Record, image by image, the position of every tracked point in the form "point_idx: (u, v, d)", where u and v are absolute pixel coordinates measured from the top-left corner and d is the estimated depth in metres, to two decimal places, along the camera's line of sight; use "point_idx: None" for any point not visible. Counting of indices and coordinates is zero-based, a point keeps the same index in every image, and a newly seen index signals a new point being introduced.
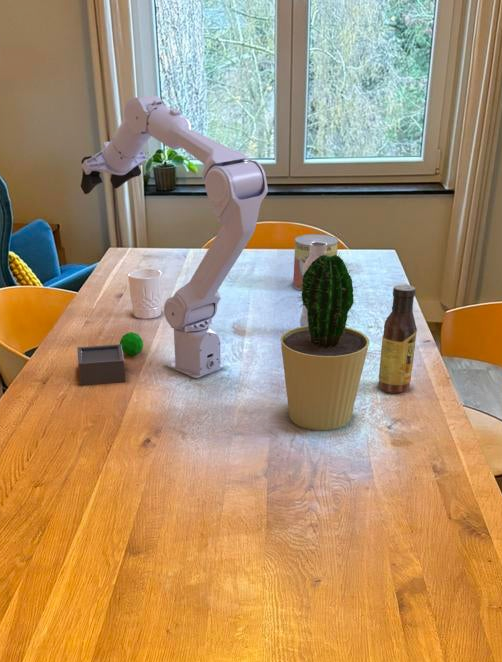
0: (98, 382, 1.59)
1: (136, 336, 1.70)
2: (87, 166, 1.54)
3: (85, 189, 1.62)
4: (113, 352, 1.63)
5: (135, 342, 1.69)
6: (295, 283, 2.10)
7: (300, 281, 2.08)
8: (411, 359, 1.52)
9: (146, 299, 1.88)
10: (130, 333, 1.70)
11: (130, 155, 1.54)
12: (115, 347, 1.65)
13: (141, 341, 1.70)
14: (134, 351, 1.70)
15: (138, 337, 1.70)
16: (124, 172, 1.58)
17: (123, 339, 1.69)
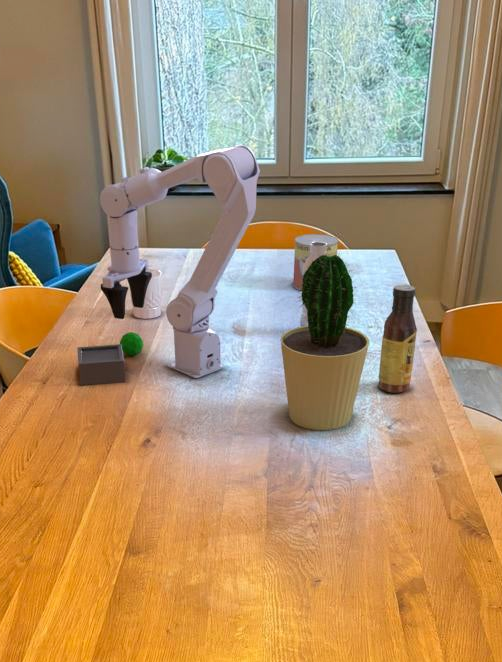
0: (98, 382, 1.59)
1: (136, 336, 1.70)
2: (107, 279, 1.57)
3: (120, 313, 1.63)
4: (113, 352, 1.63)
5: (135, 342, 1.69)
6: (295, 283, 2.10)
7: (300, 281, 2.08)
8: (411, 359, 1.52)
9: (146, 299, 1.88)
10: (130, 333, 1.70)
11: (132, 245, 1.58)
12: (115, 347, 1.65)
13: (141, 341, 1.70)
14: (134, 351, 1.70)
15: (138, 337, 1.70)
16: (138, 270, 1.61)
17: (123, 339, 1.69)
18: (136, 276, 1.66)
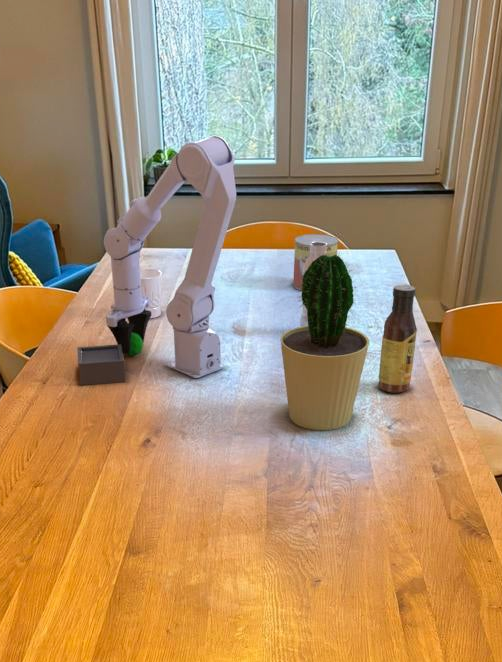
0: (98, 382, 1.59)
1: (136, 336, 1.69)
2: (111, 319, 1.61)
3: (125, 349, 1.68)
4: (113, 352, 1.63)
5: (135, 342, 1.69)
6: (295, 283, 2.10)
7: (300, 281, 2.08)
8: (411, 359, 1.52)
9: None
10: None
11: (135, 285, 1.62)
12: (115, 347, 1.65)
13: (141, 341, 1.70)
14: (134, 351, 1.70)
15: (138, 337, 1.70)
16: (141, 308, 1.66)
17: None
18: (136, 315, 1.70)
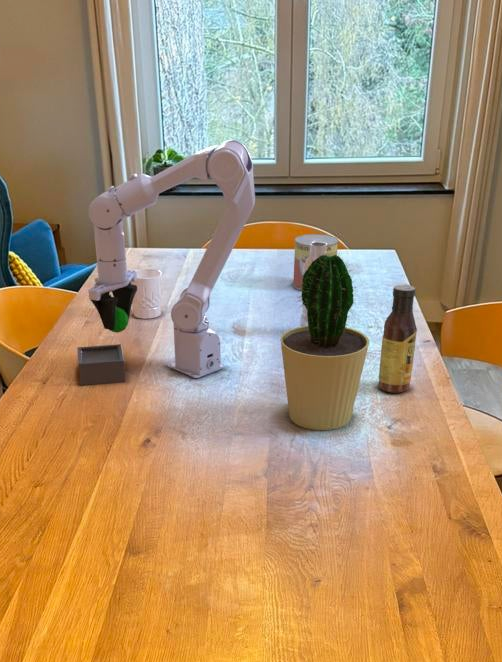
0: (98, 382, 1.59)
1: (120, 311, 1.62)
2: (93, 292, 1.54)
3: (110, 324, 1.61)
4: (113, 352, 1.63)
5: (119, 317, 1.61)
6: (295, 283, 2.10)
7: (300, 281, 2.08)
8: (411, 359, 1.52)
9: (146, 299, 1.88)
10: None
11: (122, 255, 1.55)
12: (115, 347, 1.65)
13: (126, 317, 1.63)
14: (118, 327, 1.62)
15: (123, 312, 1.62)
16: (126, 282, 1.58)
17: None
18: (121, 289, 1.62)
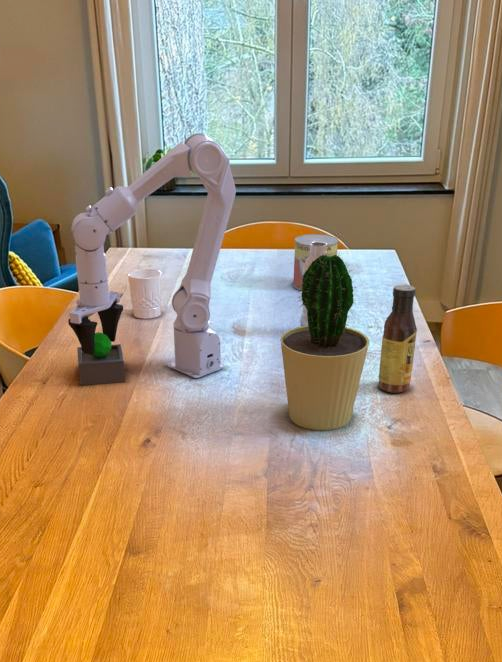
0: (98, 382, 1.59)
1: (103, 336, 1.58)
2: (75, 315, 1.50)
3: (89, 349, 1.56)
4: (113, 352, 1.63)
5: (102, 343, 1.58)
6: (295, 283, 2.10)
7: (300, 281, 2.08)
8: (411, 359, 1.52)
9: (146, 299, 1.88)
10: (97, 333, 1.59)
11: (106, 276, 1.52)
12: (115, 347, 1.65)
13: (109, 342, 1.59)
14: (101, 353, 1.58)
15: (106, 338, 1.59)
16: (108, 304, 1.54)
17: None
18: (107, 309, 1.59)
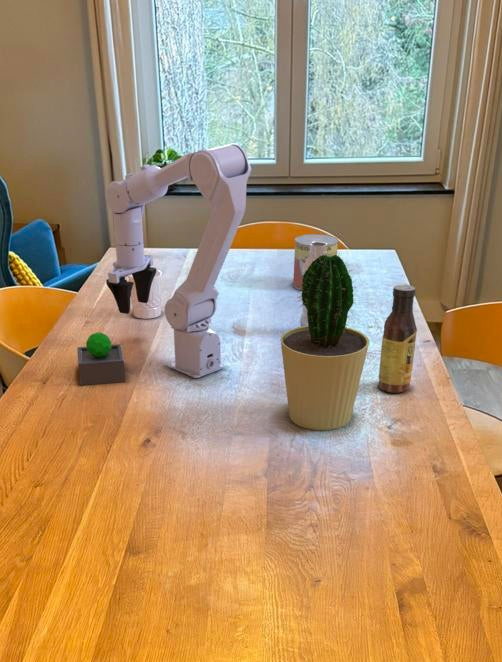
0: (98, 382, 1.59)
1: (103, 336, 1.58)
2: (113, 275, 1.59)
3: (125, 308, 1.66)
4: (113, 352, 1.63)
5: (102, 343, 1.58)
6: (295, 283, 2.10)
7: (300, 281, 2.08)
8: (411, 359, 1.52)
9: None
10: (97, 333, 1.59)
11: (135, 241, 1.60)
12: (115, 347, 1.65)
13: (109, 342, 1.59)
14: (101, 353, 1.58)
15: (106, 338, 1.59)
16: (143, 265, 1.64)
17: (89, 340, 1.58)
18: (141, 272, 1.69)
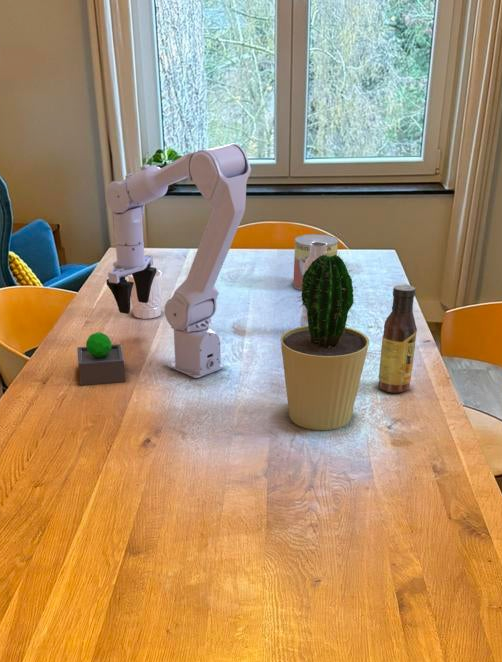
0: (98, 382, 1.59)
1: (103, 336, 1.58)
2: (113, 275, 1.59)
3: (125, 308, 1.66)
4: (113, 352, 1.63)
5: (102, 343, 1.58)
6: (295, 283, 2.10)
7: (300, 281, 2.08)
8: (411, 359, 1.52)
9: None
10: (97, 333, 1.59)
11: (135, 241, 1.60)
12: (115, 347, 1.65)
13: (109, 342, 1.59)
14: (101, 353, 1.58)
15: (106, 338, 1.59)
16: (143, 265, 1.64)
17: (89, 340, 1.58)
18: (141, 272, 1.69)
